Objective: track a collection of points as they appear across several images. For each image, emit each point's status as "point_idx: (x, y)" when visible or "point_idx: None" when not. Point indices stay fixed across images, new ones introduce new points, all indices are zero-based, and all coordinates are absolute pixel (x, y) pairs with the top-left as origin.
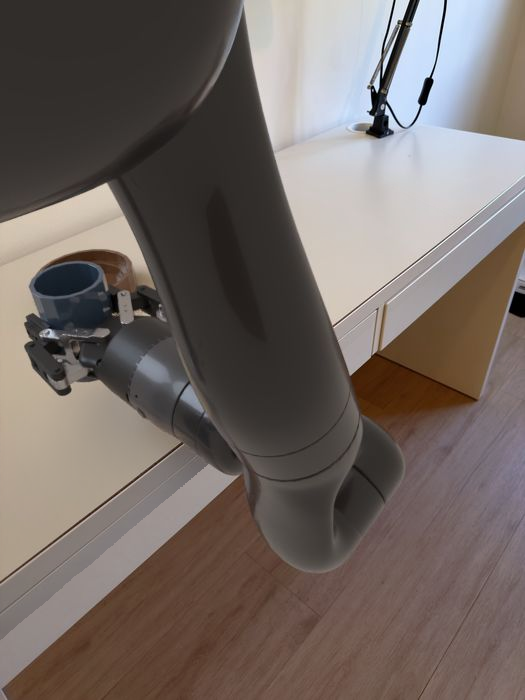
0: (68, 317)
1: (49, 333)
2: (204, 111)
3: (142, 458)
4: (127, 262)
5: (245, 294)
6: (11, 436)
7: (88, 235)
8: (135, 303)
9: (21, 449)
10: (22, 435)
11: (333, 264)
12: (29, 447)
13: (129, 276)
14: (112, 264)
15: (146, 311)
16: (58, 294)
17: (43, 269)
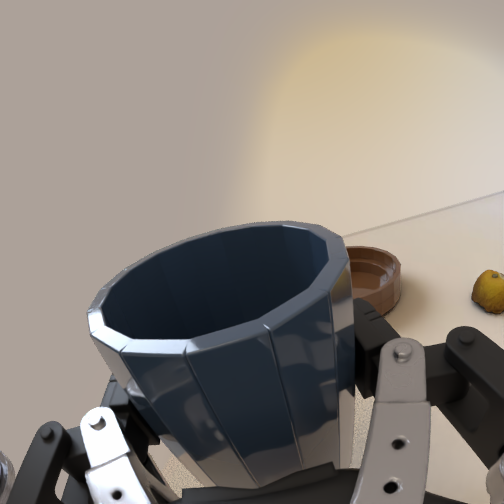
0: (149, 415)
1: (99, 429)
2: None
3: None
4: (395, 264)
5: None
6: (174, 461)
7: (361, 237)
8: (430, 390)
9: (171, 487)
10: (183, 468)
11: None
12: (179, 490)
13: (396, 281)
14: (378, 265)
15: (450, 415)
16: (230, 305)
17: None
